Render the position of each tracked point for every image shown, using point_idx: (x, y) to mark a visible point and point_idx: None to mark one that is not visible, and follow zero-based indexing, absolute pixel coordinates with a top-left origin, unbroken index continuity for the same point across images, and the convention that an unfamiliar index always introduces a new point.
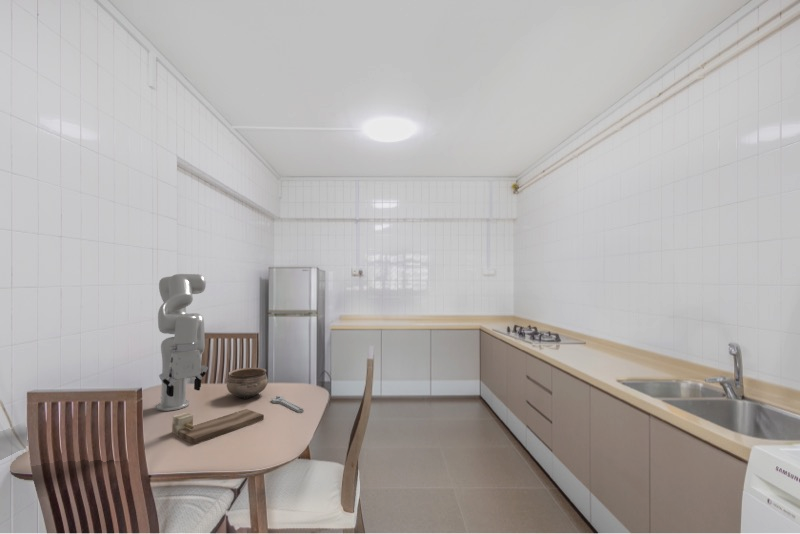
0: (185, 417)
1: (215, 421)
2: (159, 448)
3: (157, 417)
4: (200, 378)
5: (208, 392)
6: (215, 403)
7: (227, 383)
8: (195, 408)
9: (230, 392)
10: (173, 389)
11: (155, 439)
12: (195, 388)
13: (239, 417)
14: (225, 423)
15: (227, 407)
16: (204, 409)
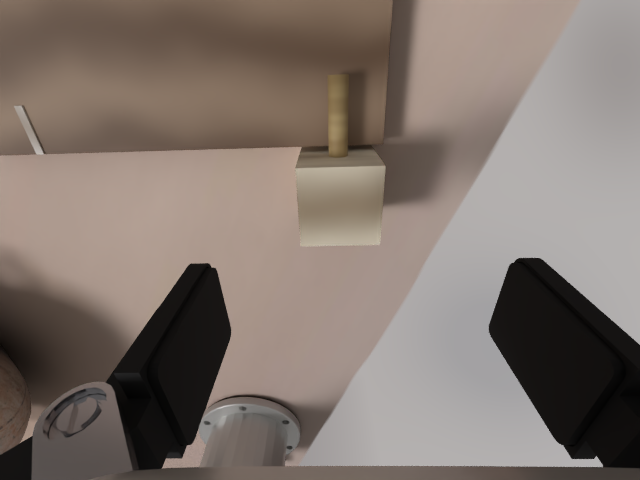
0: (345, 167)
1: (182, 104)
2: (514, 46)
3: (328, 379)
4: (90, 408)
5: None
6: None
7: (1, 445)
8: None
9: (25, 389)
10: (570, 317)
11: (451, 184)
12: (222, 320)
13: (30, 36)
14: (139, 2)
15: (81, 298)
16: None
